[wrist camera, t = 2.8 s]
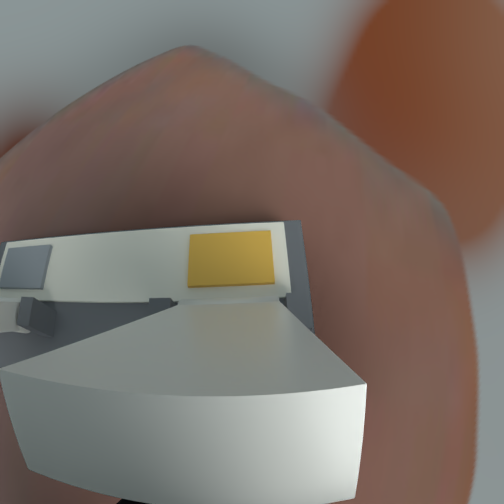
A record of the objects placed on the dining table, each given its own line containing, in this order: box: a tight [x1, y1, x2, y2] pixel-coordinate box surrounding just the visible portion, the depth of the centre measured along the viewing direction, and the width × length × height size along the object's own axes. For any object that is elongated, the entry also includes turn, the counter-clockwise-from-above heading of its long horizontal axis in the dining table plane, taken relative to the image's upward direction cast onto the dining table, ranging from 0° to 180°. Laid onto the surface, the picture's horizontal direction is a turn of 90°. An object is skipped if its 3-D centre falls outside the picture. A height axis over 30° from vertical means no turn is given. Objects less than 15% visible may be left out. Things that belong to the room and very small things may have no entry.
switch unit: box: [0, 220, 315, 368], centre depth 16 cm, size 10×22×5 cm, turn 92°
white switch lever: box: [0, 296, 367, 504], centre depth 9 cm, size 2×4×12 cm, turn 92°
